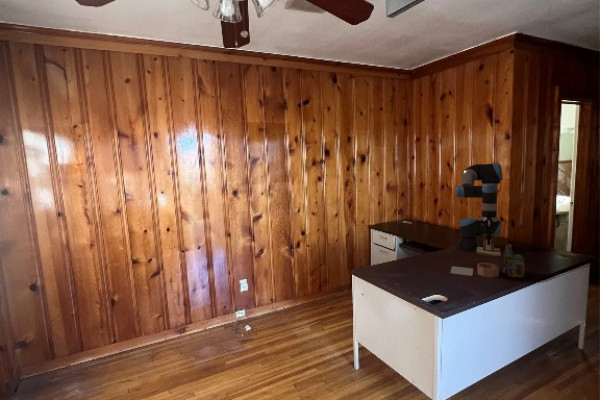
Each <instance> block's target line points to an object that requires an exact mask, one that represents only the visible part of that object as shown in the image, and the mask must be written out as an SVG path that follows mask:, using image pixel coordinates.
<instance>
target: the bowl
mask: <svg viewBox="0 0 600 400" xmlns="http://www.w3.org/2000/svg"><path fill="white" fill-rule="evenodd" d="M477 275H479V276H482V277H484V278H485V277H486V278H498V277H499V276H500V265H497V264H496V263H491V262H490V263H489V262H480V263H477Z"/></svg>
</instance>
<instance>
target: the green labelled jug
mask: <svg viewBox="0 0 600 400" xmlns="http://www.w3.org/2000/svg"><path fill="white" fill-rule="evenodd" d="M502 259H503V262H502V263H503V267H502V268H503V269H502V271H503V274H504V276H506V278H522V279H525V278H526V274H525V273H526V266H525V265H526V263H525V262H526V261H525V259H526V258H525V257H524V256H523V255H522V254H515V253H514V251H513V249H512V250H511V254H505V253H503V258H502Z"/></svg>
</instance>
